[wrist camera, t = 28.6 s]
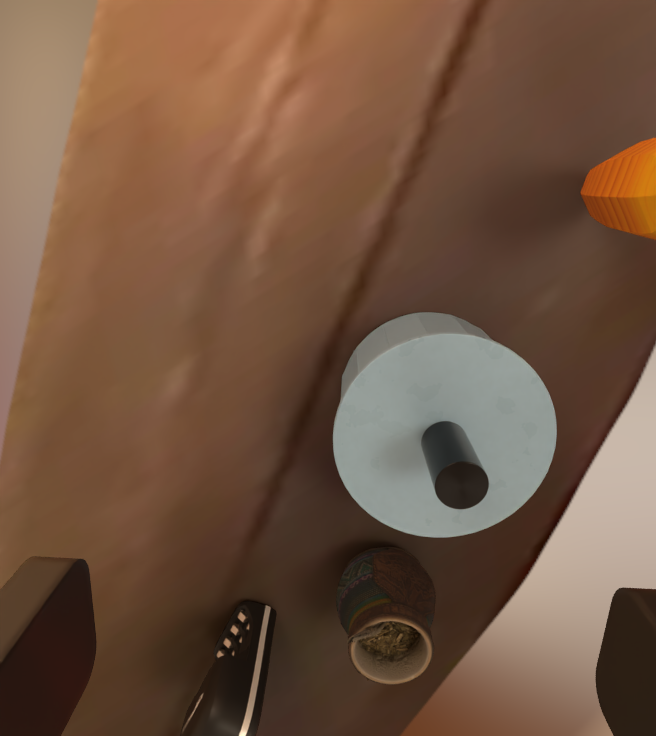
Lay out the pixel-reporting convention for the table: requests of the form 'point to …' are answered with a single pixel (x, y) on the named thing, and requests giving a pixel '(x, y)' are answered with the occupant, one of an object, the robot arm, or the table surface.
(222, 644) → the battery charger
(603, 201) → the carrot
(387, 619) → the mate gourd
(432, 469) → the lid
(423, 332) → the pot
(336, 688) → the table surface
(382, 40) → the table surface
